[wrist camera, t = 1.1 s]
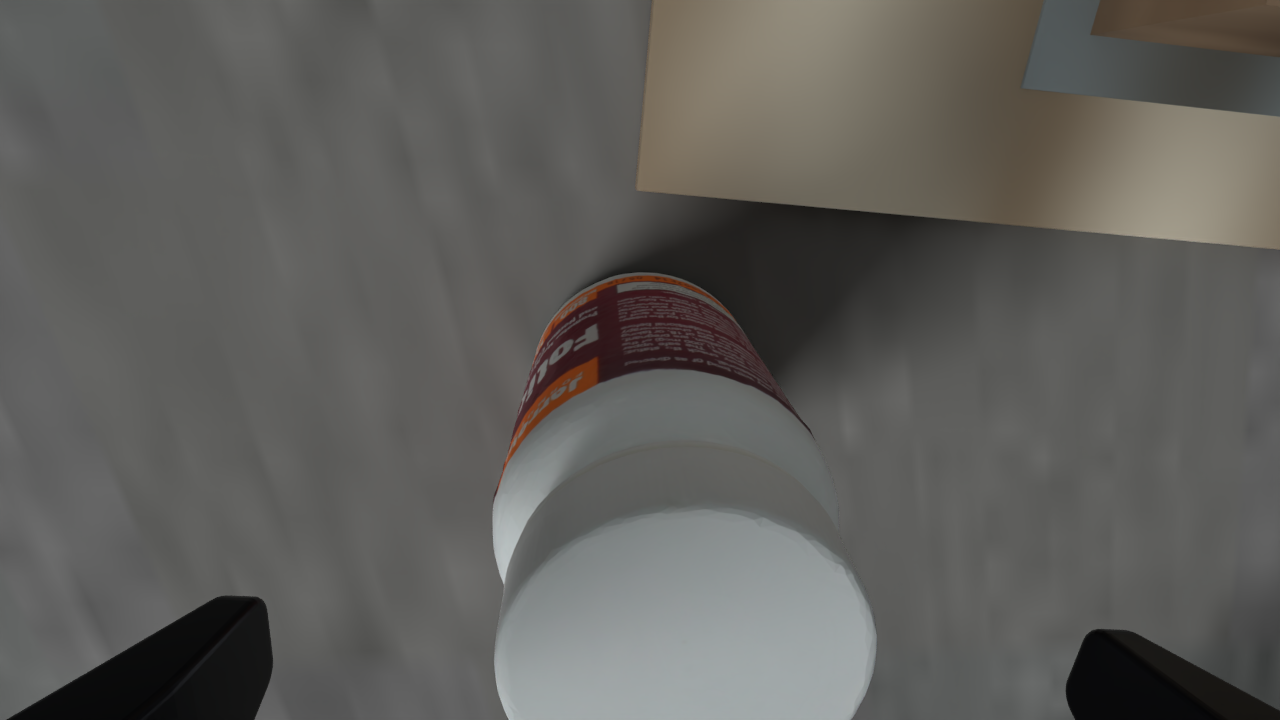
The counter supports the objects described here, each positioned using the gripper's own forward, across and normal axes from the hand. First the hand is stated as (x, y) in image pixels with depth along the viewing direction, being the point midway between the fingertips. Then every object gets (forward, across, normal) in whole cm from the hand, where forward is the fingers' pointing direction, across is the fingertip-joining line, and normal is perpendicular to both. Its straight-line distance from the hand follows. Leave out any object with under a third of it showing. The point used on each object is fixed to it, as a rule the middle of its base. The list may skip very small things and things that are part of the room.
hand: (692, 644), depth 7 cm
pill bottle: (+8, 0, 0) cm, 8 cm away
